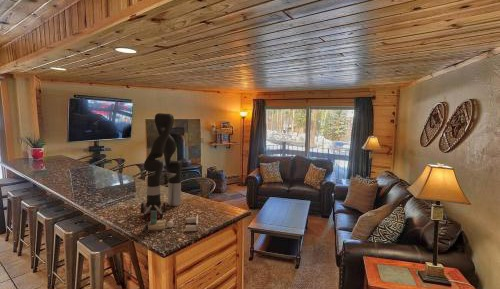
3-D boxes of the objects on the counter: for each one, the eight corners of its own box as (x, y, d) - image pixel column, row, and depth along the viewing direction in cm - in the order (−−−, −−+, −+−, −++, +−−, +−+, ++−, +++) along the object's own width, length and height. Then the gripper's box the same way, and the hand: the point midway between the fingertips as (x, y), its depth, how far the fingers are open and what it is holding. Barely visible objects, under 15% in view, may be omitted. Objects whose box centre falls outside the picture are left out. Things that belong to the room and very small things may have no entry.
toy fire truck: (164, 217, 174) (164, 202, 173) (146, 223, 165) (146, 207, 164) (158, 215, 179) (158, 200, 177) (140, 220, 169) (140, 204, 168)
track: (147, 224, 162) (147, 221, 162) (180, 223, 166) (180, 220, 165) (144, 231, 153) (144, 227, 153) (178, 230, 157) (178, 226, 157)
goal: (186, 222, 168) (186, 215, 168) (198, 221, 170) (198, 215, 169) (185, 231, 156) (185, 223, 155) (197, 230, 157) (197, 223, 156)
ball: (167, 225, 162) (167, 219, 161) (173, 225, 163) (174, 219, 162) (166, 228, 158) (166, 222, 157) (173, 228, 159) (173, 222, 158)
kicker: (150, 224, 162) (150, 209, 161) (165, 223, 164) (165, 209, 162) (148, 229, 154) (147, 214, 153) (164, 229, 156) (164, 213, 155)
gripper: (167, 190, 161) (166, 216, 163) (142, 191, 158) (142, 217, 160) (165, 194, 154) (165, 221, 155) (139, 195, 151) (139, 222, 153)
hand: (153, 219), depth 158 cm, fingers open, 8 cm apart
